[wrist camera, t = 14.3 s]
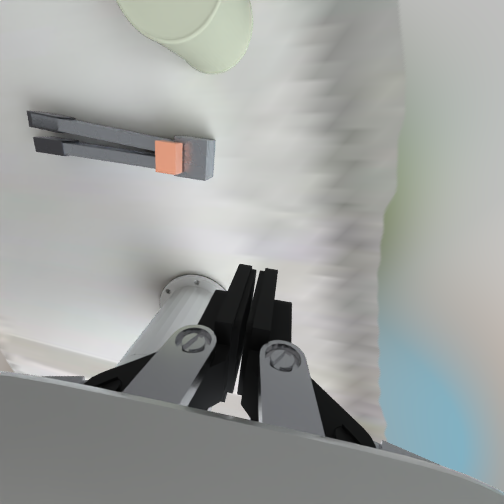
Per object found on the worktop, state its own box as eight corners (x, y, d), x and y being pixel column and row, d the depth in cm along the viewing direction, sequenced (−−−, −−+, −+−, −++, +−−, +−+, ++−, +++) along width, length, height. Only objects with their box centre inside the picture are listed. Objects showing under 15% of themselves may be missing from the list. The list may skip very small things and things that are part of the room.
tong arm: (175, 138, 34) (165, 139, 32) (175, 153, 35) (164, 154, 33) (47, 112, 36) (26, 110, 33) (49, 127, 36) (29, 126, 34)
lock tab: (182, 142, 31) (175, 143, 29) (182, 172, 33) (175, 174, 31) (163, 140, 31) (154, 140, 30) (163, 169, 33) (155, 171, 31)
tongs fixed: (215, 140, 34) (207, 140, 31) (213, 176, 36) (205, 180, 33) (49, 116, 36) (26, 114, 33) (55, 152, 38) (34, 153, 35)
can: (183, -48, 27) (108, -168, 16) (266, -11, 27) (246, -105, 17) (163, 55, 31) (92, 13, 20) (236, 87, 31) (203, 63, 21)
